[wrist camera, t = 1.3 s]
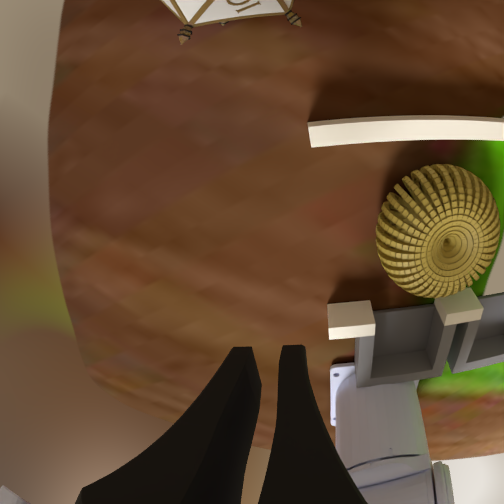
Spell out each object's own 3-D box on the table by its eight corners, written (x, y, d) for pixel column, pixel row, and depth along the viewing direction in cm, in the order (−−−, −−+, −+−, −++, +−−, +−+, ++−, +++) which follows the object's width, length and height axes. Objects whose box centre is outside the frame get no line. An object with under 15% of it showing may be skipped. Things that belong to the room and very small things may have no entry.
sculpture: (478, 143, 11) (525, 259, 13) (445, 130, 15) (496, 230, 17) (353, 239, 15) (423, 333, 17) (343, 209, 18) (408, 295, 20)
